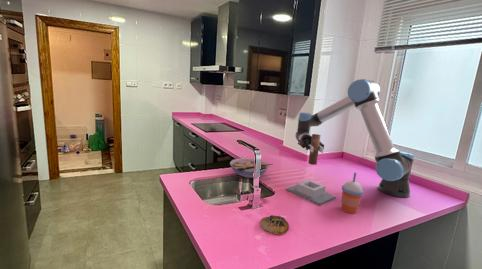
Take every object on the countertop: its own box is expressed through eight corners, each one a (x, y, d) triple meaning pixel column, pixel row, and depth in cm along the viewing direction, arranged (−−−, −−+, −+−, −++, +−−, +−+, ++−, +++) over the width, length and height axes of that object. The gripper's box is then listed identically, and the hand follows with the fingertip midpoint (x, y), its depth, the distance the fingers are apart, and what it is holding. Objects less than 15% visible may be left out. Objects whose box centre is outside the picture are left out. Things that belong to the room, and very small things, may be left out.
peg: (318, 164, 137) (322, 135, 134) (313, 165, 134) (317, 136, 131) (311, 161, 141) (315, 133, 137) (306, 162, 138) (310, 134, 135)
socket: (335, 198, 126) (336, 188, 125) (319, 205, 117) (321, 195, 115) (302, 184, 140) (303, 176, 139) (286, 190, 131) (287, 181, 130)
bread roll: (285, 219, 102) (286, 209, 101) (291, 239, 92) (292, 228, 90) (258, 219, 102) (259, 208, 100) (260, 239, 92) (261, 227, 90)
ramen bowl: (253, 167, 165) (254, 155, 163) (277, 179, 146) (278, 165, 145) (220, 172, 150) (221, 159, 149) (242, 186, 132) (243, 171, 130)
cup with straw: (347, 216, 109) (353, 176, 105) (334, 206, 117) (339, 169, 114) (364, 214, 111) (371, 176, 108) (350, 204, 120) (356, 169, 116)
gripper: (319, 147, 154) (333, 158, 131) (291, 145, 154) (299, 155, 131) (321, 135, 153) (335, 144, 130) (292, 133, 153) (301, 141, 130)
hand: (317, 150), depth 130 cm, fingers closed on peg, 4 cm apart
